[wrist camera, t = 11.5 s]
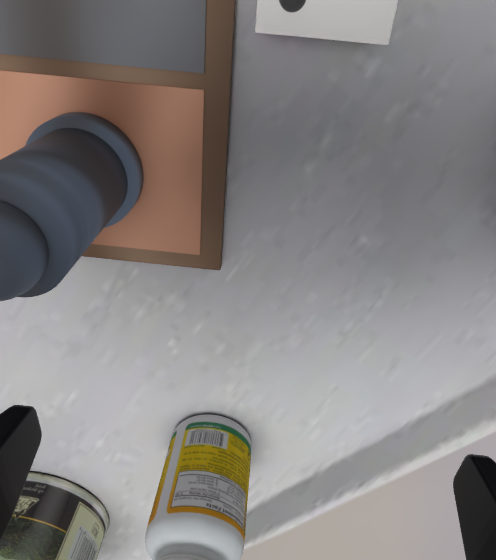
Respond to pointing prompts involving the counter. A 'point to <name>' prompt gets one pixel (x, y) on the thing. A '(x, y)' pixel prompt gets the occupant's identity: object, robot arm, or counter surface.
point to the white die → (328, 19)
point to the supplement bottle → (202, 492)
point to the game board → (133, 107)
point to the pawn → (62, 198)
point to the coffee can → (54, 522)
